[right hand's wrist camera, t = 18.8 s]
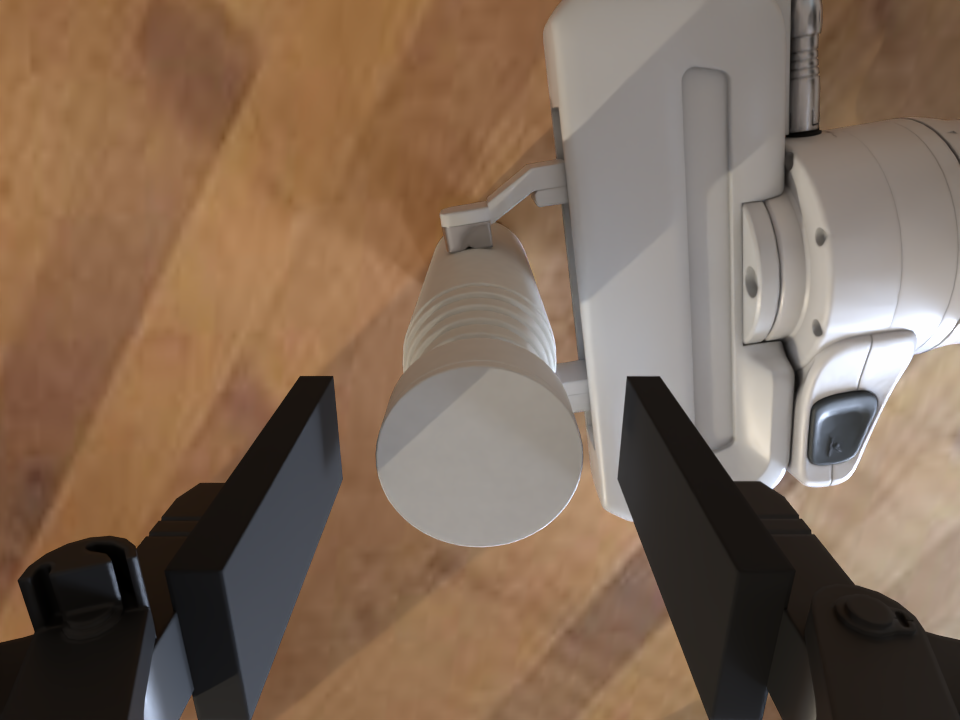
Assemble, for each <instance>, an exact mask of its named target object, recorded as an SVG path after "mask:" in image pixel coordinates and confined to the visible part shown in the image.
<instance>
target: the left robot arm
mask: <svg viewBox="0 0 960 720" xmlns="http://www.w3.org/2000/svg"><path fill="white" fill-rule="evenodd" d="M822 22H823V8H822V0H562V1H561V2H560V3H559V4H558V5H557V7H556V8H555V10H554V11H553V13H552V14H551V16H550V17H549V19H548V21H547V23H546V25H545V27H544V31H543V42H544V52H545V61H546V70H547V79H548V88H549V97H550V106H551V115H552V125H553V134H554V143H555V152H556V159H555V160H549V161H543V162H537V163H532V164H526V165H525V166H524V167H523V168H522V169H520V170H519V171H518V172H517V173H516V174H514V175H513V176H512V177H511V178H510V179H508V180H507V181H506V182H505V183H504V184H502V185H501V186H500V187H499V188H498V189H497V190H495V191H494V192H493V193H492V194H491V195H489V196H488V197H487V201H483V202H477V203H471V204H465V205H459V206H453V207H449V208H446V209H442V210H441V212H440V219H441V225H442V230H443V235H444V240H445V245H446V250H447V252H448V253H456V252H461V251H464V250H465V249H466V248H468V247H469V246H470V247H472V248H474V249H481V248H487V247H493V241H492V233H491V226H490V223H491V224H493V223H494V222H495V221H497V220H498V219H499V218H500V217H502V216H503V215H504V214H505V213H507V212H508V211H509V210H510V209H512V208H513V207H514V206H515V205H517V204H518V203H519V202H520V201H522V200H523V199H524V198H525V197H527V196H528V195H529V194H530V193H531V197H532V199H533V200H534V202H535V204H536V205H537V206H539V207H544V206H550V205H557V204H561V206H562V215H563V224H564V233H565V242H566V251H567V260H568V269H569V278H570V287H571V296H572V305H573V314H574V323H575V332H576V341H577V350H578V361H572V362H566V363H559V364H556V372H555V374H556V375H557V376H558V378H559V379H560V381H561V382H562V384H563V386H564V388H565V390H566V392H567V395H568V398H569V401H570V404H571V407H572V410H573V413H576V412H583V411H584V414H585V423H586V432H587V441H588V450H589V459H590V467H591V473H592V477H593V481H594V485H595V488H596V491H597V494H598V497H599V500H600V503H601V505H602V507H603V508H604V509H605V510H606V511H608V512H610V513H612V514H614V515H616V516H618V517H620V518H623V519H625V520H627V521H632V522H633V519H632V516H631V514H630V511H629V509H628V506H627V503H626V501H625V498H624V495H623V493H622V490H621V488H620V485H619V482H618V480H617V477H618V466H619V455H620V444H621V433H622V423H623V412H624V401H625V390H626V379H627V376H660V377H661V378H662V380H663V381H664V383H665V384H666V386H667V387H668V388H669V390H670V391H671V393H672V394H673V396H674V397H675V398H676V400H677V401H678V403H679V404H680V406H681V407H682V408H683V410H684V411H685V413H686V414H687V416H688V417H689V418H690V420H691V421H692V423H693V424H694V426H695V427H696V428H697V430H698V431H699V433H700V434H701V436H702V437H703V438H704V440H705V441H706V443H707V444H708V446H709V447H710V448H711V450H712V451H713V453H714V454H715V456H716V457H717V458H718V460H719V461H720V463H721V464H722V466H723V467H724V469H725V470H726V471H727V473H728V474H729V476H730V477H731V479H732V480H733V481H761V482H762V483H764V484H765V485H767V486H768V487H770V488H772V489H773V488H774V487H775V486H776V485H777V484H778V483H779V482H780V480H781V479H782V478H783V476H784V474H785V472H786V470H787V471H788V472H789V473H790V474H792V475H793V476H794V477H795V478H796V479H797V480H798V481H800V482H801V483H802V484H803V485H805V486H809V487H825V486H832V485H836V484H839V483H842V482H844V481H846V480H847V479H848V478H849V477H850V476H851V475H852V474H853V472H854V471H855V469H856V467H857V465H858V463H859V461H860V459H861V456H862V454H863V452H864V449H865V447H866V445H867V442H868V440H869V438H870V435H871V433H872V431H873V429H874V426H875V424H876V422H877V420H878V418H879V416H880V414H881V412H882V410H883V408H884V406H885V404H886V402H887V400H888V398H889V396H890V394H891V393H892V391H893V389H894V387H895V385H896V384H897V382H898V380H899V379H900V377H901V376H902V374H903V372H904V371H905V369H906V368H907V366H908V365H909V363H910V361H911V359H912V357H913V355H914V354H920V353H924V352H927V351H930V350H932V349H935V348H938V347H942V346H945V345H949V344H960V119H958V120H942V119H936V118H926V117H903V118H896V119H889V120H883V121H877V122H871V123H865V124H859V125H853V126H847V127H841V128H835V129H829V130H823V131H822V130H819V117H820V76H819V73H820V72H819V67H818V65H819V62H818V59H817V57H818V50H817V48H818V43H819V34H820V33H821V30H822ZM785 135H786V137H785Z"/></svg>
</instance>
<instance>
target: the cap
mask: <svg viewBox="0 0 960 720" xmlns="http://www.w3.org/2000/svg"><path fill="white" fill-rule="evenodd" d="M582 465H583V446H582V441H581V436H580V432H579V429H578V426H577V423H576V419H575V416H574V413H573V410H572V407H571V404H570V401H569V398H568V395H567V392H566V390H565V388H564V386H563V384H562V382H561V381H560V379H559V378H558V376H557V375H556V374H555V372H554V371H553V370H552V369H551V368H550V367H549V366H548V365H547V364H546V363H545V362H544V361H543V360H542V359H540V358H539V357H538V356H536V355H535V354H533V353H532V352H530V351H528V350H526V349H525V348H523V347H520V346H518V345H515V344H513V343H509V342H506V341H502V340H497V339H489V338H470V339H462V340H457V341H453V342H449V343H446V344H444V345H441V346H438V347H436V348H434V349H433V350H431V351H429V352H427V353H425V354H424V355H423V356H421V357H420V358H418V359H417V360H416V361H415V362H414V363H413V364H412V365H411V366H410V367H408V369H407V370H406V371H405V372H404V374H403V375H402V376H401V377H400V379H399V381H398V382H397V384H396V386H395V388H394V390H393V392H392V395H391V397H390V400H389V403H388V406H387V410H386V413H385V416H384V419H383V422H382V425H381V428H380V432H379V436H378V439H377V445H376V467H377V472H378V477H379V480H380V483H381V486H382V488H383V490H384V492H385V494H386V496H387V498H388V500H389V501H390V503H391V504H392V505H393V507H394V508H395V510H396V511H397V512H398V513H399V514H400V515H401V516H402V517H403V518H404V519H405V520H406V521H408V522H409V523H410V524H411V525H412V526H414V527H415V528H417V529H418V530H420V531H422V532H423V533H425V534H427V535H429V536H431V537H433V538H435V539H438V540H441V541H444V542H447V543H451V544H455V545H460V546H469V547H490V546H498V545H503V544H508V543H512V542H515V541H518V540H521V539H523V538H525V537H528V536H530V535H532V534H534V533H536V532H537V531H539V530H541V529H542V528H544V527H545V526H546V525H548V524H549V523H550V522H551V521H553V520H554V519H555V518H556V517H557V516H558V515H559V514H560V513H561V512H562V510H563V509H564V508H565V507H566V505H567V504H568V503H569V501H570V499H571V498H572V496H573V494H574V492H575V490H576V488H577V485H578V483H579V480H580V476H581V472H582Z"/></svg>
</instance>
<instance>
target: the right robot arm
mask: <svg viewBox="0 0 960 720" xmlns="http://www.w3.org/2000/svg"><path fill="white" fill-rule="evenodd" d="M342 480H343V477H342V466H341V455H340V444H339V433H338V423H337V412H336V401H335V390H334V379H333V376H300V377H299V378H298V380H297V381H296V383H295V384H294V386H293V387H292V388H291V390H290V391H289V393H288V394H287V396H286V397H285V398H284V400H283V401H282V403H281V404H280V406H279V407H278V408H277V410H276V411H275V413H274V414H273V416H272V417H271V418H270V420H269V421H268V423H267V424H266V426H265V427H264V428H263V430H262V431H261V433H260V434H259V436H258V437H257V438H256V440H255V441H254V443H253V444H252V446H251V447H250V448H249V450H248V451H247V453H246V454H245V456H244V457H243V458H242V460H241V461H240V463H239V464H238V466H237V467H236V469H235V470H234V471H233V473H232V474H231V476H230V477H229V479H228V480H227V481H226V483H199V484H198V485H196V486H195V487H193V488H192V489H190V490H189V491H187V492H186V493H184V494H183V495H181V496H180V497H178V498H177V499H176V500H175V501H174V502H173V504H172V505H171V506H170V507H169V509H168V510H167V511H166V512H165V514H164V515H163V516H162V520H161V521H158V522H157V524H156V525H155V526H154V527H153V529H152V530H151V531H150V532H149V537H145V539H144V540H143V541H142V542H141V544H140V545H139V546H138V547H137V549H136V547H135V545H133V544H132V543H131V542H129V541H128V540H127V539H125V538H119V537H114V536H103V537H91V538H87V539H83V540H79V541H76V542H72V543H69V544H66V545H64V546H62V547H60V548H58V549H55V550H53V551H51V552H49V553H47V554H45V555H44V556H43V557H41V558H40V559H38V560H37V561H36V562H34V563H33V564H31V565H30V566H29V567H28V568H27V569H26V570H25V572H24V573H23V574H22V576H21V577H20V578H19V579H18V583H19V586H20V589H21V592H22V595H23V598H24V601H25V604H26V607H27V610H28V613H29V616H30V619H31V622H32V625H33V628H34V631H35V633H34V635H30V636H27V637H24V638H19V639H15V640H10V641H6V642H1V643H0V720H179V719H180V717H181V715H182V713H183V711H184V709H185V707H186V705H187V703H188V701H189V699H190V697H191V695H192V696H193V700H194V705H195V709H196V713H197V718H198V720H251V718H252V716H253V713H254V710H255V708H256V705H257V703H258V700H259V697H260V695H261V692H262V690H263V687H264V684H265V682H266V679H267V676H268V674H269V671H270V669H271V666H272V663H273V661H274V658H275V655H276V653H277V650H278V648H279V645H280V642H281V640H282V637H283V634H284V632H285V629H286V627H287V624H288V621H289V619H290V616H291V613H292V611H293V608H294V606H295V603H296V600H297V598H298V595H299V592H300V590H301V587H302V585H303V582H304V579H305V577H306V574H307V571H308V569H309V566H310V564H311V561H312V558H313V556H314V553H315V550H316V548H317V545H318V543H319V540H320V537H321V535H322V532H323V530H324V527H325V524H326V522H327V519H328V516H329V514H330V511H331V509H332V506H333V503H334V501H335V498H336V495H337V493H338V490H339V488H340V485H341V482H342ZM617 480H618V482H619V485H620V488H621V490H622V493H623V495H624V498H625V501H626V503H627V506H628V509H629V511H630V514H631V516H632V519H633V522H634V524H635V527H636V530H637V532H638V535H639V537H640V540H641V543H642V545H643V548H644V550H645V553H646V556H647V558H648V561H649V564H650V566H651V569H652V571H653V574H654V577H655V579H656V582H657V585H658V587H659V590H660V592H661V595H662V598H663V600H664V603H665V606H666V608H667V611H668V613H669V616H670V619H671V621H672V624H673V627H674V629H675V632H676V634H677V637H678V640H679V642H680V645H681V648H682V650H683V653H684V655H685V658H686V661H687V663H688V666H689V669H690V671H691V674H692V676H693V679H694V682H695V684H696V687H697V689H698V692H699V695H700V697H701V700H702V703H703V705H704V708H705V710H706V713H707V716H708V718H709V720H762V718H763V713H764V709H765V705H766V700H767V696H768V692H769V694H770V696H771V698H772V700H773V702H774V704H775V705H776V707H777V709H778V711H779V713H780V715H781V717H782V719H783V720H960V640H957V639H953V638H948V637H944V636H939V635H935V634H932V633H929V632H925V630H924V629H923V627H922V626H921V624H920V623H919V621H918V620H917V618H916V617H915V616H914V615H913V614H912V613H910V612H909V611H908V610H907V609H905V608H904V607H903V606H902V605H901V604H899V603H898V602H896V601H894V600H892V599H890V598H888V597H887V596H885V595H883V594H881V593H879V592H876V591H873V590H870V589H867V588H864V587H860V586H857V585H855V584H854V583H853V582H852V581H851V579H850V578H849V577H848V576H847V574H846V573H845V572H844V571H843V569H842V568H841V567H840V566H839V564H838V563H837V562H836V561H835V559H834V558H833V557H832V556H831V554H830V553H829V552H828V551H827V550H826V548H825V547H824V546H823V545H822V543H821V542H820V541H819V540H818V538H817V537H816V536H815V535H814V534H811V530H810V528H809V527H808V526H807V525H806V523H805V522H804V521H803V520H802V519H799V515H798V513H797V512H796V511H795V510H794V509H793V507H792V506H791V505H790V504H789V502H788V501H787V500H786V499H785V497H784V496H782V495H781V494H779V493H778V492H776V491H775V490H773V489H772V488H770V487H768V486H767V485H765V484H764V483H762V482H761V481H733V480H732V479H731V477H730V476H729V474H728V473H727V471H726V470H725V469H724V467H723V466H722V464H721V463H720V461H719V460H718V458H717V457H716V456H715V454H714V453H713V451H712V450H711V448H710V447H709V446H708V444H707V443H706V441H705V440H704V438H703V437H702V436H701V434H700V433H699V431H698V430H697V428H696V427H695V426H694V424H693V423H692V421H691V420H690V418H689V417H688V416H687V414H686V413H685V411H684V410H683V408H682V407H681V406H680V404H679V403H678V401H677V400H676V398H675V397H674V396H673V394H672V393H671V391H670V390H669V388H668V387H667V386H666V384H665V383H664V381H663V380H662V378H661V377H660V376H627V379H626V390H625V401H624V412H623V423H622V433H621V444H620V455H619V466H618V477H617Z"/></svg>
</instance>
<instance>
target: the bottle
mask: <svg viewBox="0 0 960 720" xmlns="http://www.w3.org/2000/svg"><path fill="white" fill-rule="evenodd" d="M490 226H491V233H492V241H493V247H487V248H481V249H474V248H472V247H470V246H469V247H468V248H466V249H465V250H464V251H461V252H456V253H448V252H447V250H446V245H445V240H444V236H443V237H442V238H441V240H440V241H439V243H438V244H437V246H436V248H435V251H434V254H433V257H432V260H431V263H430V266H429V269H428V272H427V275H426V277H425V280H424V283H423V286H422V289H421V292H420V295H419V298H418V301H417V304H416V307H415V309H414V312H413V315H412V318H411V321H410V324H409V327H408V330H407V333H406V336H405V341H404V347H403V373H404V372H405V371H406V370H407V369H408V367H410V366H411V365H412V364H413V363H414V362H415V361H416V360H417V359H418V358H420V357H421V356H423V355H424V354H425V353H427V352H429V351H431V350H433V349H434V348H436V347H438V346H441V345H444V344H446V343H449V342H453V341H457V340H462V339H470V338H489V339H497V340H502V341H506V342H509V343H513V344H515V345H518V346H520V347H523V348H525V349H526V350H528V351H530V352H532V353H533V354H535V355H536V356H538V357H539V358H540V359H542V360H543V361H544V362H545V363H546V364H547V365H548V366H549V367H550V368H551V369H552V370H553V371H554V372H556V346H555V339H554V336H553V332H552V329H551V326H550V323H549V320H548V317H547V314H546V311H545V309H544V306H543V303H542V300H541V297H540V294H539V291H538V288H537V285H536V282H535V279H534V276H533V273H532V270H531V268H530V265H529V262H528V259H527V256H526V253H525V250H524V248H523V246H522V244H521V242H520V240H519V239H518V238H517V237H516V235H515V234H514V233H513V232H512V231H511V230H509V229H508V228H506V227H505V226H503V225H501V224H499V223H497V222H494V223H493V224H491V223H490Z"/></svg>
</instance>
